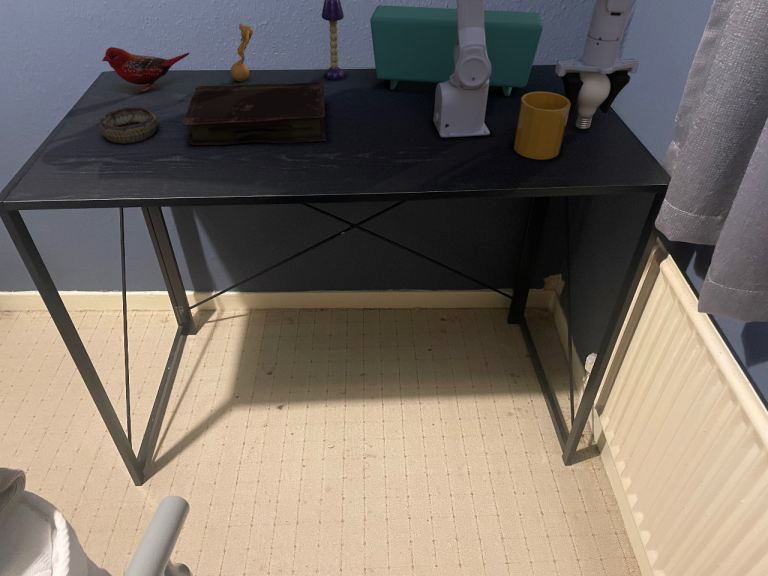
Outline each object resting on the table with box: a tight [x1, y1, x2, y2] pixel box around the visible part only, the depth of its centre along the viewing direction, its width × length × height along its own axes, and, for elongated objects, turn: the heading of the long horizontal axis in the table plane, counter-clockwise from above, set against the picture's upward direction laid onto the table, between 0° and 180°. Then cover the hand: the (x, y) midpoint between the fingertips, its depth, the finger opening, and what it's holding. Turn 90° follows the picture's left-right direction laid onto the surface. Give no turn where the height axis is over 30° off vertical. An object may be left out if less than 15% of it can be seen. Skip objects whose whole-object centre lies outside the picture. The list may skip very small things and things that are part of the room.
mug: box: [513, 90, 571, 161], centre depth 102 cm, size 11×8×9 cm
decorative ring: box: [99, 106, 159, 145], centre depth 107 cm, size 10×3×10 cm
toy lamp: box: [321, 0, 345, 81], centre depth 125 cm, size 5×5×17 cm
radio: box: [369, 4, 544, 97], centre depth 121 cm, size 34×10×15 cm, turn 82°
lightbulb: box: [575, 72, 611, 131], centre depth 106 cm, size 6×6×11 cm
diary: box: [182, 81, 327, 146], centre depth 110 cm, size 19×25×5 cm
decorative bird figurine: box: [101, 46, 191, 94], centre depth 121 cm, size 3×18×10 cm, turn 123°
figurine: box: [230, 23, 254, 83], centre depth 124 cm, size 8×6×12 cm
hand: (585, 111), depth 107 cm, fingers closed on lightbulb, 6 cm apart
